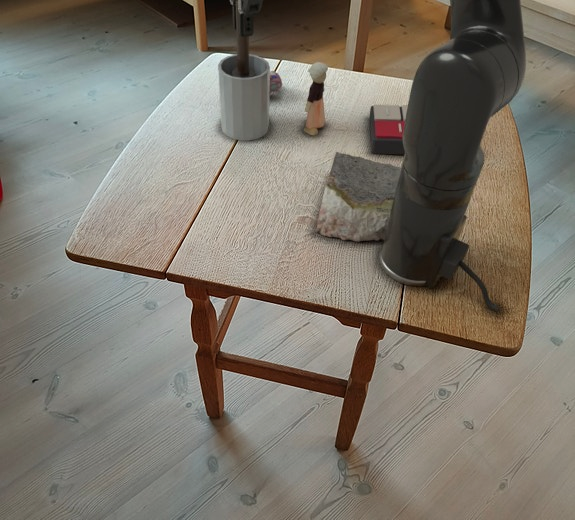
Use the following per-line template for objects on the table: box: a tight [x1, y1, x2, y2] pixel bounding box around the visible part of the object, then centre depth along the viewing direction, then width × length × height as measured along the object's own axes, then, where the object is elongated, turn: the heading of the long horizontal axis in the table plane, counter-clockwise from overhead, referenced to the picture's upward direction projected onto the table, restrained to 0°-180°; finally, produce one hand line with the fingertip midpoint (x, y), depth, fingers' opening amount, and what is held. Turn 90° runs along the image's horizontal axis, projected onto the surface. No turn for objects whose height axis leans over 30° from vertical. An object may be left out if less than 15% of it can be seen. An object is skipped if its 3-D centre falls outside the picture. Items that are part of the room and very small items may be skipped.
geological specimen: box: [315, 151, 401, 242], centre depth 85 cm, size 11×6×15 cm
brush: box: [232, 0, 255, 78], centre depth 90 cm, size 4×4×17 cm
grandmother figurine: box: [303, 61, 329, 136], centre depth 97 cm, size 8×4×13 cm, turn 168°
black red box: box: [368, 104, 408, 155], centre depth 99 cm, size 11×4×15 cm
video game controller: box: [269, 70, 283, 96], centre depth 106 cm, size 10×5×7 cm, turn 104°
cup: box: [217, 53, 271, 142], centre depth 96 cm, size 9×9×12 cm
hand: (243, 31), depth 88 cm, fingers closed on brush, 2 cm apart
